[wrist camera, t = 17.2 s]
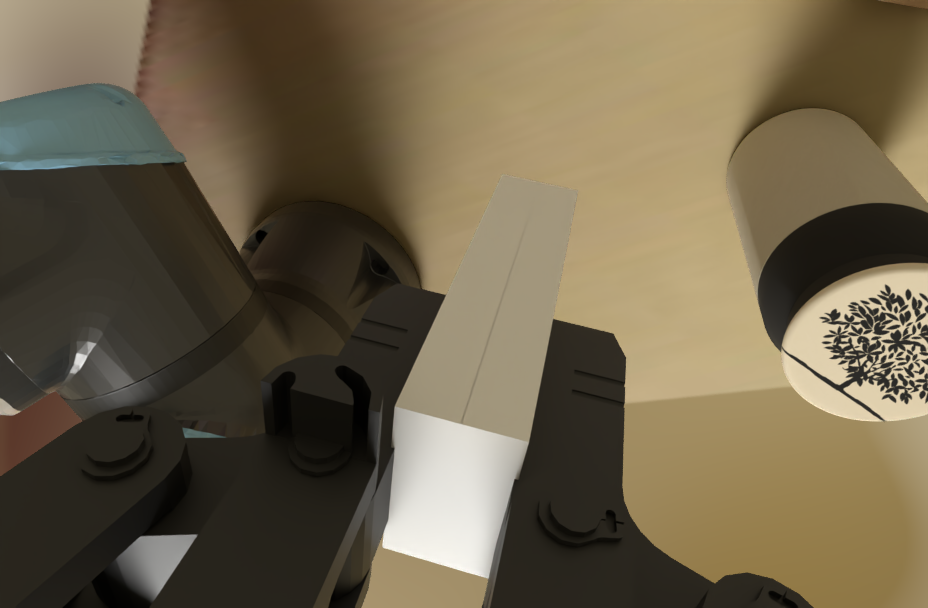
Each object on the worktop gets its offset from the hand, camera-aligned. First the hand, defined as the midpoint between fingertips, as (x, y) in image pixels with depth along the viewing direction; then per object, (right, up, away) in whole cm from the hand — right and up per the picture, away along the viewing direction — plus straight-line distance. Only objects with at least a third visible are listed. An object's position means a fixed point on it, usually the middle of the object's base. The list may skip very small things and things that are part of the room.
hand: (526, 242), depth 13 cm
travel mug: (+19, +7, +25) cm, 33 cm away
